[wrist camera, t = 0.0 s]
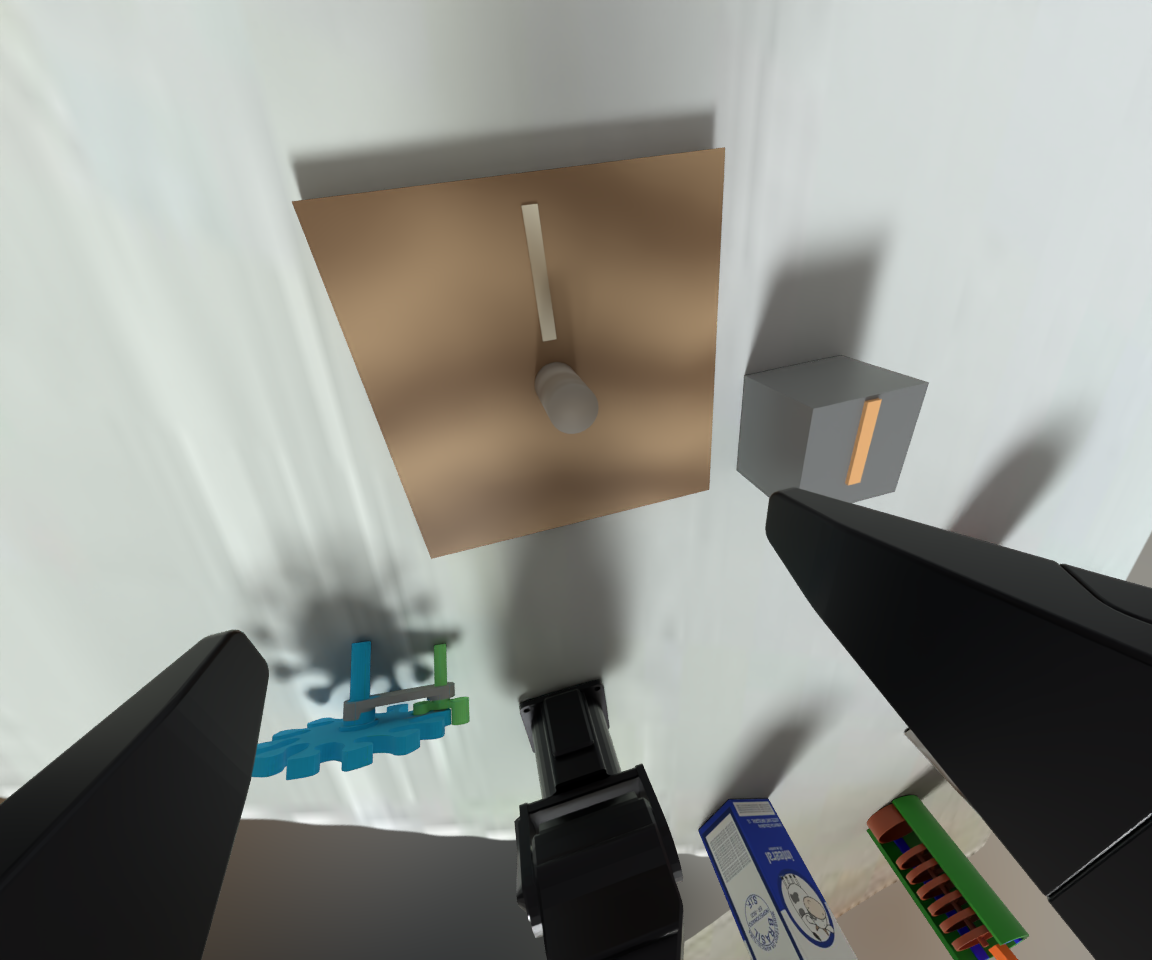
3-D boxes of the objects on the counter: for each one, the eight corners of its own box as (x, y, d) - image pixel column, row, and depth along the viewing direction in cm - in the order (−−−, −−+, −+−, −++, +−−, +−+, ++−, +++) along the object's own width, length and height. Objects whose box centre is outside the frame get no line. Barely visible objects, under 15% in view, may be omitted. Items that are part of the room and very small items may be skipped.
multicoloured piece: (874, 807, 65) (1022, 1009, 48) (924, 786, 66) (1087, 976, 49) (860, 834, 70) (989, 1025, 53) (908, 815, 71) (1049, 996, 54)
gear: (267, 752, 26) (219, 819, 18) (275, 649, 28) (234, 664, 19) (453, 714, 31) (487, 751, 22) (451, 627, 33) (482, 631, 24)
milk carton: (769, 798, 53) (916, 1060, 36) (738, 828, 56) (862, 1087, 39) (727, 799, 50) (866, 1084, 33) (696, 830, 53) (811, 1112, 36)
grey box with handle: (822, 449, 27) (898, 493, 23) (736, 470, 27) (796, 520, 22) (841, 355, 24) (932, 384, 20) (744, 375, 23) (816, 410, 19)
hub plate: (699, 479, 26) (743, 523, 22) (432, 544, 24) (427, 606, 20) (709, 152, 18) (782, 129, 14) (302, 203, 16) (249, 193, 12)
